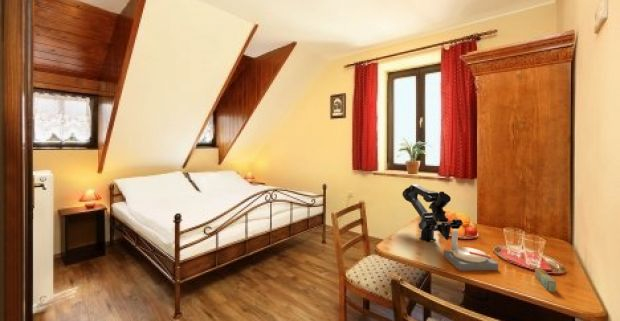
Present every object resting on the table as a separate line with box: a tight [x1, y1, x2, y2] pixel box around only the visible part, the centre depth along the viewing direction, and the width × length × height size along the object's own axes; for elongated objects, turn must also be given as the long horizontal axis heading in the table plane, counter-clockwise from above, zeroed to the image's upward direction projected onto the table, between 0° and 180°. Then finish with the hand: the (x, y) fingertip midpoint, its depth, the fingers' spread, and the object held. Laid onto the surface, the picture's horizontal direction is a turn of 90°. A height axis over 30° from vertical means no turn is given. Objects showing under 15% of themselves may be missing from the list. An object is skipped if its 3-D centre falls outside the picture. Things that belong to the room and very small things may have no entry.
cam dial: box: [450, 229, 492, 263], centre depth 131 cm, size 16×14×11 cm
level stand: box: [443, 249, 499, 271], centre depth 131 cm, size 17×15×4 cm
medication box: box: [534, 268, 557, 293], centre depth 112 cm, size 12×3×4 cm, turn 160°
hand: (447, 239), depth 140 cm, fingers closed
